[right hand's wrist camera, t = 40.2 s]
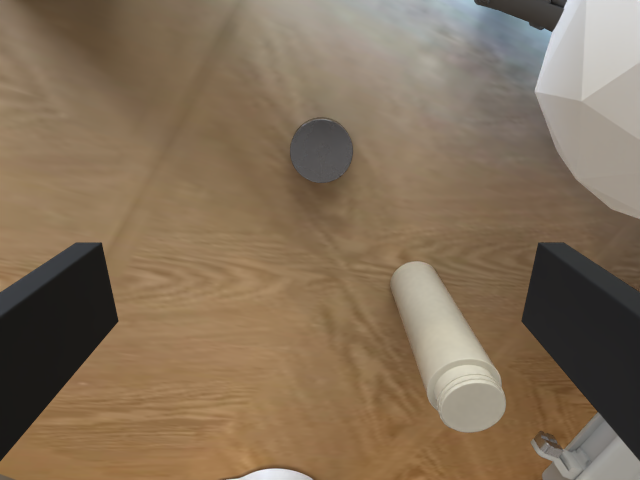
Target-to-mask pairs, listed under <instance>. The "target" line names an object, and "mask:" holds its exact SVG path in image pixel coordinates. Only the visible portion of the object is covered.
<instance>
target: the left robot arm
mask: <svg viewBox="0 0 640 480" xmlns="http://www.w3.org/2000/svg"><path fill="white" fill-rule="evenodd" d="M531 444H532V446H533V448H534V449H535V451H536V453H537V454H538V455H539V456H541V457H543V458H546V459H548V460H551V461H553V462H552V463H551V464H550V465H549V466H548V468H547V469H546V470H545V471H544V472H543V474H542V478H543V480H640V461H639V460H638V459H637V457H636V456H635V455H634V454H633V453H632V452H631V450H630V449H629V448H628V447H627V446H626V444H625V443H624V442H623V441H622V440H621V439H620V437H619V436H618V435H617V434H616V433H615V431H614V430H613V429H612V428H611V427H610V425H609V424H608V423H607V422H606V421H605V420H604V418H603V417H602V416H601V415H600V414H599V412H597V413H596V414H595V416H594V417H593V418H592V419H591V420H590V421H589V422H588V423H587V424H586V425H585V427H584V428H583V429H582V430H581V431H580V432H579V433H578V434H577V435H576V437H575V438H574V439H573V440H572V441H571V442H570V443H569V444H568V445H567V447H566V448H565V449H562V448H561V446H560V445H558V444H557V440H556V439H555V438H554V436H553V435H551V434H548V433H544V432H543V431H540V432H539V433H538V434H537V435H536V436H535V437H534V438H533V439H532V440H531ZM228 480H313V479H312V478H310V477H309V476H307V475H304V474H302V473H299V472H296V471H292V470H287V469H265V470H260V471H256V472H253V473H250V474H248V475H246V476H244V477H241V478H238V479H228Z"/></svg>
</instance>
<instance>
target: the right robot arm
mask: <svg viewBox="0 0 640 480" xmlns="http://www.w3.org/2000/svg"><path fill="white" fill-rule="evenodd" d="M117 322H118V317H117V312H116V307H115V303H114V298H113V293H112V289H111V284H110V279H109V275H108V270H107V265H106V261H105V256H104V251H103V247H102V243H75V244H73V245H72V246H70V247H69V248H67V249H66V250H64V251H63V252H61V253H60V254H58V255H57V256H55V257H53V258H52V259H50V260H49V261H47V262H46V263H44V264H43V265H41V266H40V267H38V268H37V269H35V270H34V271H32V272H31V273H29V274H28V275H26V276H25V277H23V278H22V279H20V280H18V281H17V282H15V283H14V284H12V285H11V286H9V287H8V288H6V289H5V290H3V291H2V292H0V461H1V460H2V459H3V457H4V456H5V455H6V454H7V453H8V452H9V450H10V449H11V448H12V447H13V446H14V444H15V443H16V442H17V441H18V440H19V439H20V437H21V436H22V435H23V434H24V433H25V431H26V430H27V429H28V428H29V427H30V425H31V424H32V423H33V422H34V421H35V420H36V418H37V417H38V416H39V415H40V414H41V412H42V411H43V410H44V409H45V408H46V407H47V405H48V404H49V403H50V402H51V401H52V399H53V398H54V397H55V396H56V395H57V393H58V392H59V391H60V390H61V389H62V388H63V386H64V385H65V384H66V383H67V382H68V380H69V379H70V378H71V377H72V376H73V375H74V373H75V372H76V371H77V370H78V369H79V367H80V366H81V365H82V364H83V363H84V361H85V360H86V359H87V358H88V357H89V356H90V354H91V353H92V352H93V351H94V350H95V348H96V347H97V346H98V345H99V344H100V343H101V341H102V340H103V339H104V338H105V337H106V335H107V334H108V333H109V332H110V331H111V329H112V328H113V327H114V326H115V325H116V324H117ZM522 322H523V324H524V325H525V326H526V327H527V328H528V329H529V331H530V332H531V333H532V334H533V335H534V337H535V338H536V339H537V340H538V341H539V343H540V344H541V345H542V346H543V347H544V348H545V350H546V351H547V352H548V353H549V354H550V356H551V357H552V358H553V359H554V360H555V361H556V363H557V364H558V365H559V366H560V367H561V369H562V370H563V371H564V372H565V373H566V375H567V376H568V377H569V378H570V379H571V380H572V382H573V383H574V384H575V385H576V386H577V388H578V389H579V390H580V391H581V392H582V393H583V395H584V396H585V397H586V398H587V399H588V401H589V402H590V403H591V404H592V405H593V407H594V408H595V409H596V410H597V411H598V412H599V414H600V415H601V416H602V417H603V418H604V420H605V421H606V422H607V423H608V424H609V425H610V427H611V428H612V429H613V430H614V431H615V433H616V434H617V435H618V436H619V437H620V439H621V440H622V441H623V442H624V443H625V444H626V446H627V447H628V448H629V449H630V450H631V452H632V453H633V454H634V455H635V456H636V457H637V459H638V460H639V461H640V292H638V291H637V290H635V289H634V288H632V287H631V286H629V285H628V284H626V283H625V282H623V281H622V280H620V279H618V278H617V277H615V276H614V275H612V274H611V273H609V272H608V271H606V270H605V269H603V268H602V267H600V266H599V265H597V264H596V263H594V262H593V261H591V260H590V259H588V258H587V257H585V256H583V255H582V254H580V253H579V252H577V251H576V250H574V249H573V248H571V247H570V246H568V245H567V244H565V243H538V247H537V251H536V256H535V261H534V265H533V270H532V275H531V279H530V284H529V289H528V293H527V298H526V303H525V307H524V312H523V317H522Z"/></svg>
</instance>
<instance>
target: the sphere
mask: <svg viewBox="0 0 640 480" xmlns="http://www.w3.org/2000/svg"><path fill="white" fill-rule="evenodd" d="M474 1H475V3H476V4H477V5H482V6H485V7H488V8H492V9H495V10H499V11H502V12H505V13H507V14H510V15H512V16H515V17H517V18H520V19H523V20H525V21H528V22H529V24H530V26H533V27H535V28H537V29H539V30H542V29H544V28H545V29H547V30H549V31H551V32H552V34H551V38H550V41H549V44H548V48H547V51H546V54H545V58H544V61H543V64H542V68H541V71H540V74H539V78H538V81H537V85H536V88H535V91H534V92H535V94H536V97H537V100H538V102H539V105H540V108H541V110H542V113H543V116H544V118H545V121H546V124H547V126H548V129H549V132H550V134H551V137H552V140H553V142H554V145H555V147H556V150H557V152H558V154H559V155H560V157H561V158H562V160H563V161H564V163H565V164H566V166H567V167H568V168H569V170H570V171H571V173H572V174H573V176H574V177H575V179H576V180H577V181H578V182H580V183H581V184H582V185H583V186H584V187H586V188H587V189H588V190H589V191H590V192H591V193H593V194H594V195H595V196H596V197H597V198H599V199H600V200H601V201H602V202H603V203H604V204H606V205H607V206H608V207H609V208H610V209H612V210H615V211H618V212H621V213H623V214H626V215H629V216H632V217H635V218H638V219H640V0H474Z"/></svg>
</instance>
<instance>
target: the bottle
mask: <svg viewBox="0 0 640 480" xmlns="http://www.w3.org/2000/svg"><path fill="white" fill-rule="evenodd" d="M390 288H391V292H392V294H393V297H394V300H395V303H396V306H397V309H398V312H399V315H400V318H401V321H402V324H403V327H404V330H405V332H406V335H407V338H408V341H409V344H410V347H411V350H412V353H413V356H414V359H415V362H416V365H417V368H418V371H419V373H420V376H421V379H422V382H423V385H424V388H425V391H426V394H427V397H428V400H429V402H430V403H431V405H432V406H433V407H434V408H435V409H436V410H437V411H438V413H439V415H440V418H441V420H442V421H443V422H444V424H445V425H446V426H448V427H449V428H452V429H454V430H457V431H460V432H467V433H471V432H478V431H482V430H485V429H487V428H489V427H491V426H493V425H494V424H495V423H497V422H498V421H499V420H500V418H501V417H502V416H503V414H504V412H505V408H506V398H505V394H504V391H503V390H502V388H501V386H502V382H501V377H500V374H499V372H498V371H497V369H496V367H495V366H494V364H493V363H492V361H491V359H490V358H489V356H488V354H487V353H486V351H485V350H484V348H483V346H482V345H481V343H480V341H479V340H478V338H477V337H476V335H475V333H474V332H473V330H472V328H471V327H470V325H469V324H468V322H467V320H466V319H465V317H464V315H463V314H462V312H461V311H460V309H459V307H458V306H457V304H456V302H455V301H454V299H453V298H452V296H451V294H450V293H449V291H448V289H447V288H446V286H445V285H444V283H443V281H442V280H441V278H440V276H439V275H438V273H437V272H436V270H435V269H434V268H433V267H432V266H431V265H429V264H427V263H425V262H420V261H413V262H409V263H406V264H404V265H402V266H400V267H399V268H398V269H397V270H396V271H395V272H394V274H393V276H392V278H391V282H390Z"/></svg>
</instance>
